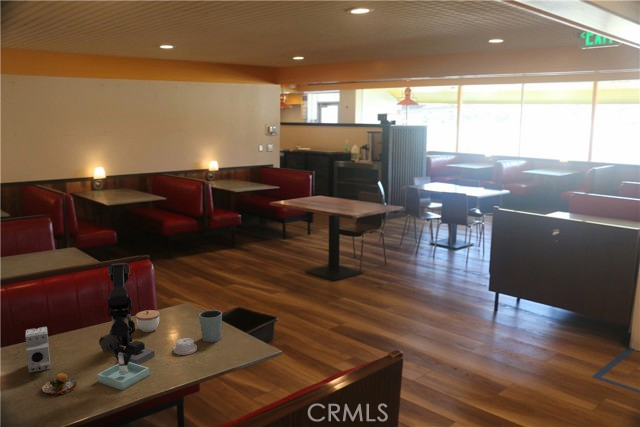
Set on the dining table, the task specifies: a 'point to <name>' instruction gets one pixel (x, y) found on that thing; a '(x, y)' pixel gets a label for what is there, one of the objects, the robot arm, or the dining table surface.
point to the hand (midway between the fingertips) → (123, 364)
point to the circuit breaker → (37, 349)
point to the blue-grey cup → (211, 325)
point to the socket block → (142, 356)
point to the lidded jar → (147, 320)
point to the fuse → (122, 365)
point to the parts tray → (123, 376)
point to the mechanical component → (185, 346)
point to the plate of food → (59, 385)
